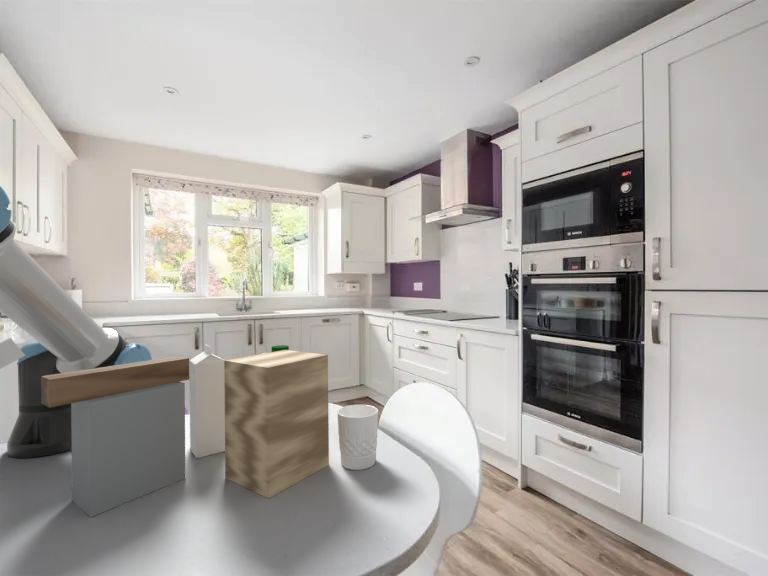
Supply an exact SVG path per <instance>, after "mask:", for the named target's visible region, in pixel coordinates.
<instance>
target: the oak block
mask: <svg viewBox="0 0 768 576" xmlns="http://www.w3.org/2000/svg"><path fill="white" fill-rule="evenodd" d="M263 353H264V354H262V353H259V354H253V355H248V356H242V357H236V358H231V359H223V360H224V377H225V451H224V454H225V455H224V461H225V462H224V469H225V471H224V476H225V479H226V480H229V481H231V482H234V483H235V484H237V485H239V486H242V487H244V488H245V489H248V490H250V491H251V492H255V493H257V494H259V495H261V496H262V497H264V498H266V499H271V498H272V497H275V496H276V495H278V494H279V493H281V492H284V491H285V490H288V488H290V487H292V486H293V485H295V484H297V483H299V482H301V481H303V480H305V479H307V478H308V477H310V476H312V475H314V474H315V473H317V472H319V471H320V470H322V469H324V468H325V467H328V466H329V465H330V451H329V448H330V446H329V445H330V443H329V442H330V440H329V439H330V437H329V433H330V432H329V430H330V428H329V425H330V424H329V355H328V354H324V353H323V354H322V353H315V352H306V351H299V350H290V349H289V350H281V351H276V352H272V351H270V352H263Z"/></svg>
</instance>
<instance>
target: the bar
mask: <svg viewBox="0 0 768 576" xmlns="http://www.w3.org/2000/svg"><path fill="white" fill-rule="evenodd" d="M188 380H189V381H190V357H186V356H185V357H184V356H179V355H176V356H171V357H163V358H157V359H152V360H149V361H142V362H135V363H128V364H121V365H115V366H108V367H101V368H94V369H87V370H80V371H74V372H67V373H60V374H53V375H46V376H41V403H42V404H44V405H46V406H48V407H49V408H51V407H56V406H61V405H66V404H71V403H76V402H81V401H85V400H90V399H95V398H100V397H105V396H110V395H115V394H120V393H125V392H130V391H135V390H140V389H145V388H150V387H155V386H160V385H165V384H170V383H175V382H183V381H188Z"/></svg>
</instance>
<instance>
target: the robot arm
mask: <svg viewBox="0 0 768 576" xmlns="http://www.w3.org/2000/svg"><path fill="white" fill-rule="evenodd" d="M10 204H11V201H10V199H9V196H8V194H7V192H6V190H5V189H4V188H3V187H2V185H1V184H0V312H1V313H2V314H4V315H5V316H6V317H7V318H9V319H10V320H11V321H12V323H13V322H14V324H16V325H17V326H18V327H19V328H21V329H22V330H23V331H24V332H25V333H27V334H28V335H29V336H31V337H32V338H33V339H34V340H35V341H36V342H33V343H27V344H24V345H22V346H21V347H19V346H18V344H16V343H15V342H14V341H13V339H12V338H11V337H8V338H6V339H4V340H2V341H0V370H2V369H3V368H5V367H7V366H9V365H10V364H12V363H15V362H16V361H17V363H16V364H17V382H18V383H17V387H18V416H17V419H16V421H15V423H14V425H13V428H12V431H11V433H10V436H9V438H8V440H7V444H6V446H7V449H6V452H7V453H6V454H7V456H8V457H11V458H19V459H27V458H28V459H29V458H36V457H37V458H38V457H44V456H49V455H54V454H59V453H64V452H67V451H70V450H71V451H72V427H71V404H66V405H61V406H56V407H51V408H49V407H48V406H46V405H44V404H42V403H41V376H46V375H53V374H60V373H67V372H74V371H80V370H87V369H94V368H101V367H108V366H115V365H121V364H128V363H135V362H142V361H149V360H153V359H152V353H151V352H150V350H149V348H148V347H147V346H146V345H144V344H143V343H142V344H141V343H138V342H132V343H130V342H127V341H126V340H125V339H124V338H123V337H122V335H120V334H119V332H118V331H116V330H114V329H113V328H111V327H101V326H100V325H99V324H98V323H97V322H96V321H95V320H94V319H93V318H92V317H91V316H90V315H89V314H88V313H87V312H86V311H85V310H84V309H83V308H82V307H81V306H80V305H79V304H78V303H77V302H76V301H75V300H74V298H72V297H71V296H70V295H69V294H68V293H67V291H65V290H64V289H63V288H62V286H61V285H60V284H58V282H57V281H56V280H54V279H53V277H52V276H50V274H48V272H46V271H45V270H44V268H42V266H41V265H39V264H38V262H37V261H36V260H35V259H33V257H32V256H31V255H30V254H29V253H28V252H27V251H26V250H25V249H24V248H23V247H22V246H21V244H19V243H18V241H16V240H15V234H16V232H17V231H16V230H17V226H16V224H15V223H14V222H13V221H12V220H11V218H12V210H11V209H9V205H10Z"/></svg>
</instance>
